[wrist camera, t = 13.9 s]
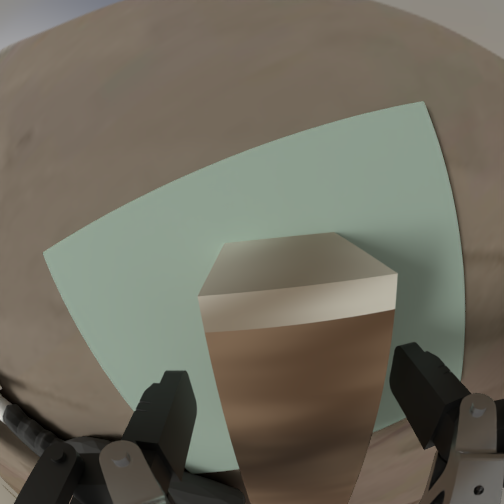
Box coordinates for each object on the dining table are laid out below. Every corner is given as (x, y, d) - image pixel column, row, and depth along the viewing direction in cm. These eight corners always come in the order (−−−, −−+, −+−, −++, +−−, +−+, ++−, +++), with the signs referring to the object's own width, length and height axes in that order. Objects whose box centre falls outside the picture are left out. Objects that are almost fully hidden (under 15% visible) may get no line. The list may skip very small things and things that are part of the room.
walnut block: (255, 517, 8) (197, 296, 5) (255, 442, 13) (224, 243, 10) (346, 506, 8) (397, 273, 5) (328, 433, 13) (334, 231, 10)
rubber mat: (192, 467, 14) (191, 473, 14) (49, 249, 11) (42, 252, 10) (455, 381, 13) (459, 386, 12) (416, 104, 9) (423, 101, 9)
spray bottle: (211, 516, 17) (-7, 401, 15) (258, 483, 14) (-31, 324, 12) (207, 540, 14) (-21, 416, 12) (256, 518, 11) (-53, 340, 9)
